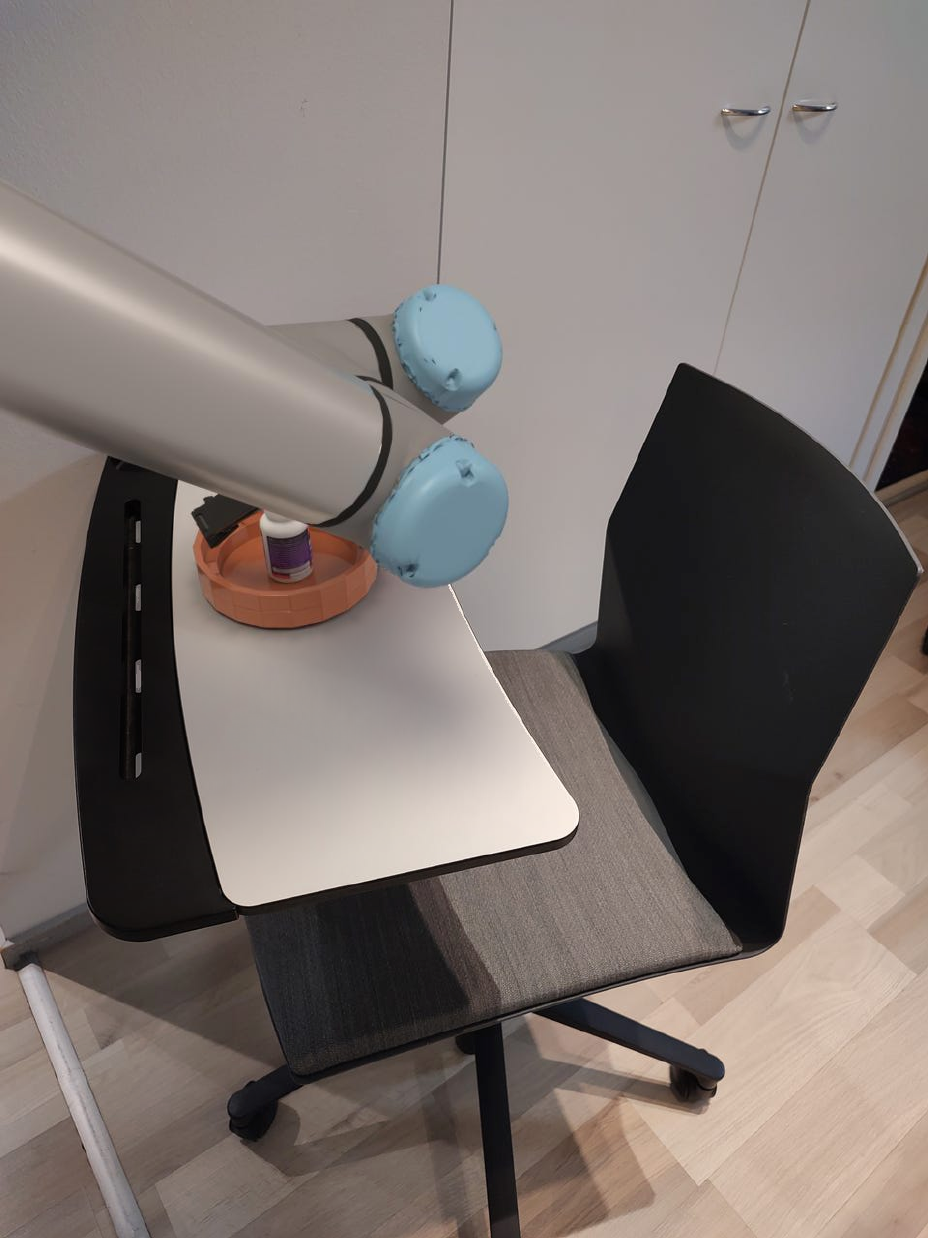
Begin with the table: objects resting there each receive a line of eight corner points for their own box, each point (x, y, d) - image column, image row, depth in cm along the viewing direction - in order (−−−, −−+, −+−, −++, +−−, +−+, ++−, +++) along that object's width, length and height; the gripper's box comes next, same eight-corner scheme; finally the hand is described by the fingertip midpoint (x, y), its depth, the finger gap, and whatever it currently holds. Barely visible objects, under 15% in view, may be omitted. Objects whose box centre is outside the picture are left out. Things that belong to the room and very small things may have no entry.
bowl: (214, 649, 81) (206, 612, 78) (192, 541, 93) (184, 505, 90) (397, 610, 85) (396, 574, 82) (353, 512, 97) (350, 477, 94)
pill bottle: (323, 571, 89) (315, 501, 83) (284, 590, 86) (274, 520, 81) (296, 550, 91) (287, 480, 86) (257, 568, 89) (246, 498, 83)
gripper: (247, 532, 61) (173, 596, 79) (495, 415, 75) (384, 493, 93) (192, 436, 61) (130, 522, 78) (452, 335, 74) (349, 429, 92)
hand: (268, 506), depth 85 cm, fingers open, 13 cm apart
